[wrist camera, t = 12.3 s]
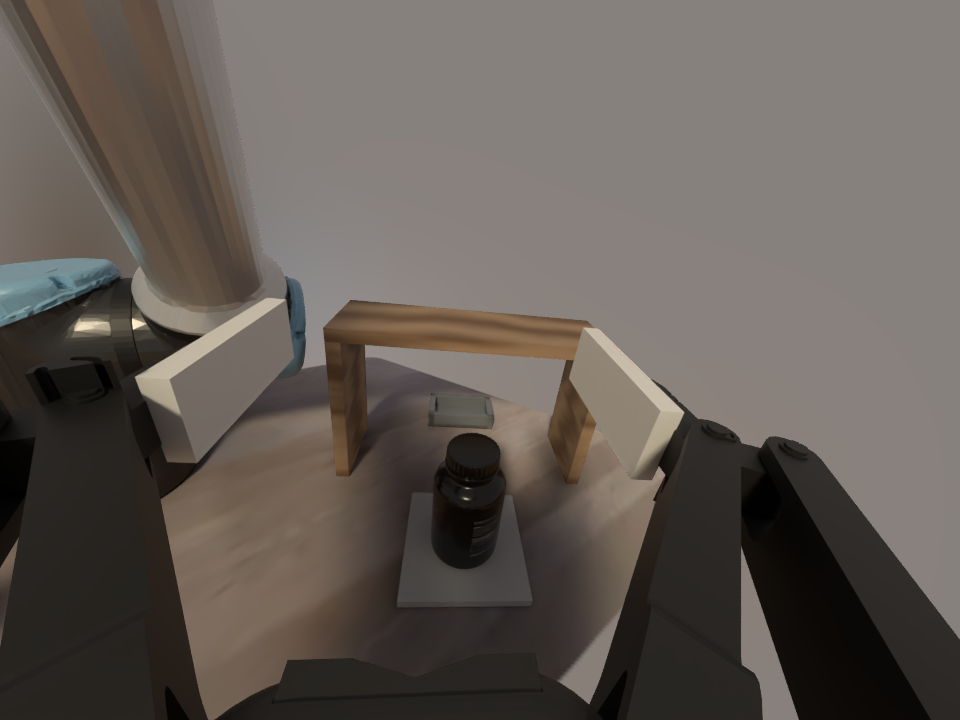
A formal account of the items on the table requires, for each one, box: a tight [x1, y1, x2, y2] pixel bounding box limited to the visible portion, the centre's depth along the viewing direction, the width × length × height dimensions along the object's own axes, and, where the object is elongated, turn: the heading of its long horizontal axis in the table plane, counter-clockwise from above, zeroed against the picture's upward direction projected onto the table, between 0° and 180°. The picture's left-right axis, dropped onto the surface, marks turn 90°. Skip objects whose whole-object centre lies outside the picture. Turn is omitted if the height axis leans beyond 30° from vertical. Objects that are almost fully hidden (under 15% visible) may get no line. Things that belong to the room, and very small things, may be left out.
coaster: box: [397, 492, 533, 607], centre depth 35 cm, size 12×12×1 cm
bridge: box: [323, 300, 596, 484], centre depth 44 cm, size 10×31×20 cm, turn 94°
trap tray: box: [428, 394, 493, 429], centre depth 56 cm, size 6×10×2 cm, turn 94°
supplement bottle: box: [431, 433, 506, 570], centre depth 32 cm, size 7×7×12 cm
